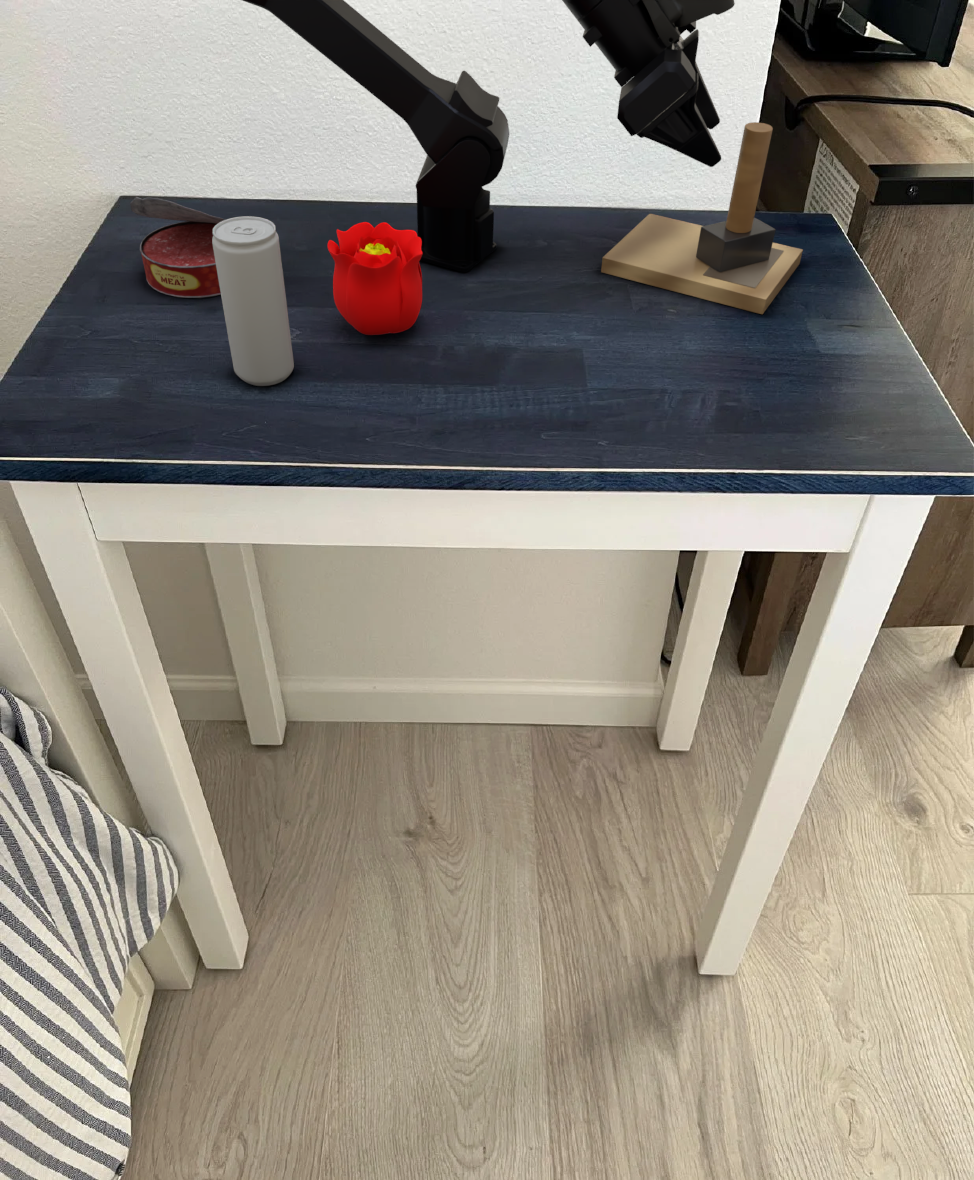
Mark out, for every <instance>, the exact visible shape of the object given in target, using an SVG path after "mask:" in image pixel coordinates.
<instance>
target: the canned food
mask: <svg viewBox="0 0 974 1180" xmlns="http://www.w3.org/2000/svg"><path fill="white" fill-rule="evenodd" d="M129 205H130V210H131V212H132V213H134V214H135V215H137V216H142V217H146V218H149V219H150V218H152V219H161V220H168V221H177V222H175V223H171V224H167V225H164V226H161V227H159V228H157V229H154V230H153V231H151V232H149V233H147V234H146V235H145V236H144V238H143V239H141V242H140V244H139V252H140V254H141V259H142V264H143V268H144V273H145V279H146V282H147V284H148V285H149V286H150V287H151V289H153V290H155V291H156V292H158V293H161V294H162V295H166V296H171V297H174V298H181V299H182V298H184V299H202V298H211V297H216V296H221V292H220V286H219V280H218V274H217V268H216V262H215V256H214V250H213V244H212V238H213V228H214V226H215V225H217V224H218V223H219V222H222V221H224V220H226V219H225V218H223V217H219V216H215V215H211V214H209V213H205V212H204V211H200V210H198V209H193V208H190V207H187V206H184V205H181V204H179V203H177V202H173V201H170V200H166V199H162V198H157V197H145V198H140V197H138V196H135V197H134V198H133V199H132V201H131V202H130V203H129ZM179 221H180V222H179Z"/></svg>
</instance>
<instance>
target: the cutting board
mask: <svg viewBox="0 0 974 1180" xmlns="http://www.w3.org/2000/svg"><path fill="white" fill-rule="evenodd" d="M702 226H703V225H700V224H697V223H691V222H688V221H684V220H679V219H674V218H671V217H667V216H663V215H657V214H654V213H648V214H647V215H646V216H645V217H644V218H643V219H642V220H641V221H640V222H639V223H638V224H637V225H636V226H635V227H634V228H633V229H631V230H630V231H629V232H628V233H627V234H626V235H625V236H624V237H623V238H622V239H621V240H620V241H619V242H617V243H616V244H615V245H614V246H613V247H612V248H611V249H610V250H609V251H608V252H607V253H606V254H605V255H604V256H602V260H601V268H600V273H603V274H606V275H611V276H614V277H618V278H622V279H624V280H628V281H629V280H630V281H633V282H637V283H641V284H645V285H648V286H653V287H656V288H660V289H663V290H667V291H670V292H675V293H679V294H683V295H686V296H691V297H694V298H698V299H702V300H706V301H708V302H709V301H710V302H712V303H717V304H721V305H725V306H728V307H733V308H736V309H740V310H744V311H747V312H751V313H756V314H760V315H763V314H764V313H765V312H766V311H767V310H768V308H769V306H770V305H771V304H772V302H773V301H774V299H775V298H776V297H777V295H779V293H780V292H781V290H782V289H783V287H784V286H785V285H786V283H787V282H788V280H789V279H790V278H791V276H792V275H793V274H794V272H795V271H796V270H797V268H798V267H799V265H800V264H801V259H802V257H803V256H802V255H803V251H804V249H802V248H799V247H795V246H789V245H785V244H781V243H777V242H773V244H772V248H771V252H770V257H769V260H766V261H762V262H758V263H754V264H750V265H747V266H743V267H739V268H735V269H731V270H727V271H723V272H718V271H717V270H715V269H713V268H712V267H710V266H709V265H707V264H706V263H704V262H703V261H701V260H699V259H698V258H696V253H697V248H698V242H699V236H700V230H701V227H702Z"/></svg>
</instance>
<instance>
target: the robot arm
mask: <svg viewBox="0 0 974 1180" xmlns="http://www.w3.org/2000/svg"><path fill="white" fill-rule="evenodd" d="M241 1H243V2H246V3H248V4H251V5H253V6H256V7H258V8H262V9H264V10H266V11H268V12H269V13H271V14H272V15H273V16H274V17H276V18H277V19H278V20H280V21H281V22H282V23H283V24H284V25H285V26H286V27H288V28H290V29H291V30H292V31H293V32H294V33H296V34H297V35H298V36H299V37H301V38H302V39H303V40H304V41H306V42H307V43H308V44H309V45H311V47H313V48H314V49H316V50H317V52H318V53H320V54H321V55H323V57H325V58H327V59H328V61H330V62H332V63H333V65H335V66H336V67H338V68H339V69H340V70H341V71H343V72H344V73H345V74H347V75H348V76H349V77H350V78H351V79H353V80H354V81H355V82H357V84H359V85H360V86H361V87H363V88H364V89H365V90H366V91H368V92H369V93H370V94H372V96H374V97H375V98H376V99H378V100H379V101H380V102H381V103H382V104H384V105H385V106H386V107H388V108H389V109H390V110H391V111H393V113H395V114H396V115H397V116H398V117H400V118H401V119H402V120H403V121H404V122H405V123H406V124H407V126H408V127H409V129H410V130H411V132H412V134H413V135H414V137H415V138H416V140H417V141H418V143H419V144H420V147H421V148H422V150H423V151H424V153H425V154H426V158H425V160H424V163H423V165H422V168H421V170H420V173H419V175H418V178H417V180H416V182H415V189H416V224H417V227H416V228H417V236H418V237H420V238H421V240H422V246H421V250H422V252H423V254H422V257H421V259H420V261H421V262H425V263H429V264H432V265H435V266H439V267H443V268H446V269H450V270H454V271H458V272H462V273H467V272H469V271H470V270H472V269H473V268H474V267H475V266H477V264H479V263H480V262H481V261H483V260H484V259H485V258H487V257H488V256H489V255H490V254H492V253H493V252H494V251H496V250H497V244H498V243H496V242H494V225H495V222H494V221H495V212H494V209H493V208H491V191H490V190H487V189H485V188H483V187H485V186H487V185H489V184H491V183H492V182H493V181H494V180H495V179H496V178H498V177H499V174H500V172H501V171H502V169H503V166H504V161H505V157H506V152H507V149H508V144H509V139H510V127H509V121H508V117H507V116H506V114H505V112H504V111H503V110H502V109H501V108H500V107H499V103H500V97H499V95H498V96H497V95H494V94H491V93H490V92H488V91H486V89H485V90H484V89H483V87H481V86H480V85H479V84H478V82H477V81H476V80H475V79H474V77H472V75H471V74H470V73H468V72H467V71H466V70H462V71H461V72H460V75H459V77H458V79H457V80H456V82H453V81H450V80H447V79H444V78H441V77H439V76H437V75H435V74H433V73H432V72H430V71H429V70H428V69H427V68H425V67H424V66H423V65H422V64H421V63H419V62H418V61H417V60H416V59H415V58H413V57H412V56H411V55H410V54H409V53H408V52H406V51H405V50H404V49H403V48H402V47H400V46H399V45H398V44H397V43H396V42H394V41H393V40H392V39H391V38H390V37H389V36H387V35H386V34H385V33H384V32H382V31H381V30H380V29H379V28H378V27H376V26H375V25H374V24H372V22H370V21H369V20H368V19H367V18H365V17H364V15H362V14H360V12H359V11H358V10H356V8H353V7H352V6H351V5H350V4H349V3H348V2H346V1H345V0H241ZM561 2H562V3H563V4H564V5H565V7H566V8H567V10H569V12H570V13H571V14H572V15H573V17H574V18H575V19H576V21H577V22H578V23H579V24H580V26H581V27H582V28H583V30H584V31H583V34H582V39H583V40H584V41H585V42H586V44H587V45H588V46H589V47H592V46H593V45H594V44H595V45H596V46H597V48H598V50H599V51H600V53H602V54H603V56H604V57H605V58H606V60H607V61H608V62H609V64H610V65H611V67H612V68H613V69H614V76H613V78H614V80H615V81H616V82H617V84H618V85H619V86H620V87H621V89H620V94H619V98H618V99H619V100H618V105H617V107H618V108H617V116H616V118H617V120H618V121H619V123H620V124H621V125H622V126H623V128H624V129H625V130H626V131H627V133H628V134H629V136H630V137H633V136H635V135H636V136H637V137H639V138H640V139H643V138H646V139H648V140H650V141H653V142H655V143H657V144H660V145H663V146H665V147H667V148H670V149H671V150H674V151H676V152H679V153H680V154H683V155H685V156H687V157H688V158H691V159H692V160H695V161H697V162H699V163H701V164H703V165H705V166H707V167H709V168H713V167H715V166H716V165H718V164H719V163H720V162H721V161H722V155H721V153H720V151H719V149H718V146H717V145H716V142H715V140H714V138H713V135H712V134H711V132H710V130H713V129H715V128H716V127H717V126H719V124H720V123H721V119H720V116H719V114H718V112H717V109H716V107H715V104H714V102H713V100H712V97H711V95H710V92H709V90H708V88H707V85H706V83H705V81H704V78H703V75H702V73H701V70H700V68H699V66H698V64H697V61H696V60H697V53H698V46H699V39H700V33H699V32H700V31H699V29H697V21H699V20H702V19H704V18H707V17H709V16H712V15H716V16H719V15H721V14H723V13H726V12H728V11H729V10H731V9H733V8H734V6H735V5H736V3H735V0H561ZM686 31H687V32H688V33H689V35H688V36H687V37H686V38H684V39H683V37H682V36H681V35H682V34H683V33H684V32H686Z"/></svg>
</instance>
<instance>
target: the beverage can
mask: <svg viewBox="0 0 974 1180" xmlns="http://www.w3.org/2000/svg"><path fill="white" fill-rule="evenodd" d="M212 244H213V250H214V256H215V262H216V268H217V274H218V280H219V286H220V292H221V295H220V296H221V303H222V309H223V313H224V320H225V321H224V322H225V326H226V327H225V328H226V332H227V338H228V344H229V349H230V355H231V361H232V366H233V372H234V374H235V375H236V376H237V377H238V378H239V379H240V380H242V381H243V382H244V383H246V384H248V385H251V386H252V385H253V386H255V387H256V386H257V387H269V386H273V385H277V384H280V383H282V382H283V381H286V379H287V378H289V377H290V375H291V374H292V372H293V370H294V367H295V364H294V363H295V361H294V354H293V344H292V338H291V337H292V336H291V328H290V321H289V320H290V319H289V312H288V302H287V295H286V294H287V293H286V287H285V286H286V285H285V279H284V271H283V270H284V269H283V261H282V253H281V246H280V238H279V234H278V232H277V229H276V225H275V223H274V222H273V221H271V220H270V219H267V218H264V217H259V216H253V215H252V216H251V215H249V216H248V215H246V216H235V217H230V218H227V219H225V220H224V221H222V222H219V223H218V224H217V225H215V226H214V228H213V238H212Z"/></svg>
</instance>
